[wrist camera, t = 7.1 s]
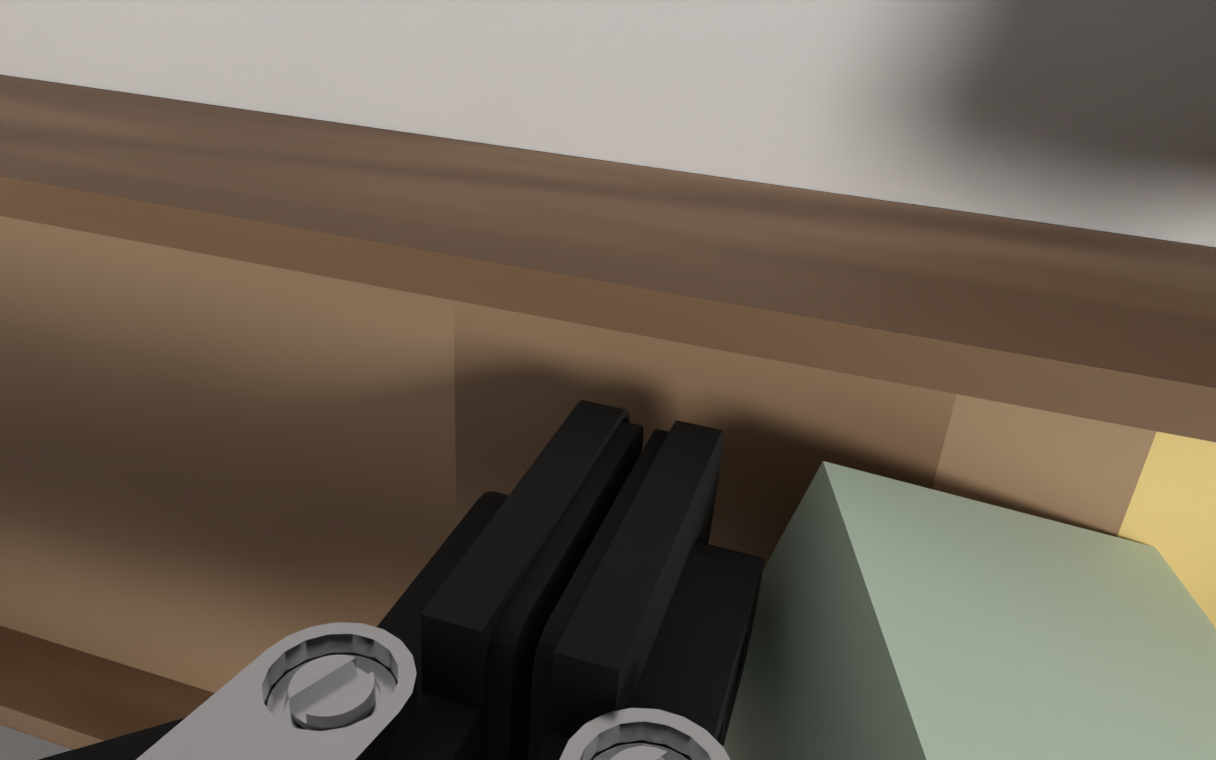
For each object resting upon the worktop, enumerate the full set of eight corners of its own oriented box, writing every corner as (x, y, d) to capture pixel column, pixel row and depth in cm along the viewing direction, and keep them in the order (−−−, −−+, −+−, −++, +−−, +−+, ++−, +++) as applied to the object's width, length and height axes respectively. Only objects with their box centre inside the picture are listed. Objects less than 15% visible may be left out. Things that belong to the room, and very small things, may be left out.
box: (-433, 13, 19) (-789, 40, 15) (1789, 328, 10) (2290, 574, 7) (-255, 448, 23) (-492, 554, 19) (1389, 911, 15) (1545, 1258, 11)
